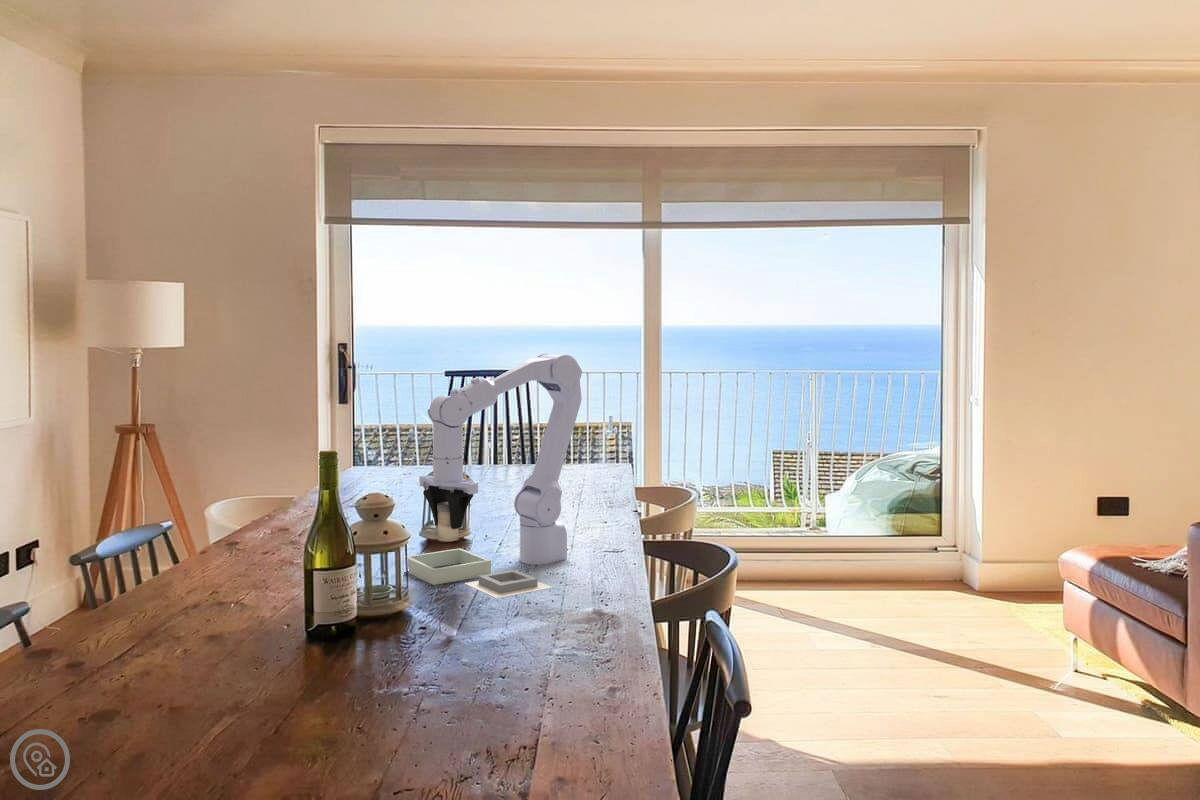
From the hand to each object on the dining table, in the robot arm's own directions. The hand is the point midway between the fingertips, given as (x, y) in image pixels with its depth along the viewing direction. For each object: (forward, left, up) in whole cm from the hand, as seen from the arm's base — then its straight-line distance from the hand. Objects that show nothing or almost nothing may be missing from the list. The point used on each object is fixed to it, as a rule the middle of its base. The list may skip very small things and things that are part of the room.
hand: (448, 526), depth 182 cm
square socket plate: (-5, +14, -10) cm, 18 cm away
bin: (0, 0, -10) cm, 10 cm away
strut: (0, 0, -2) cm, 3 cm away
